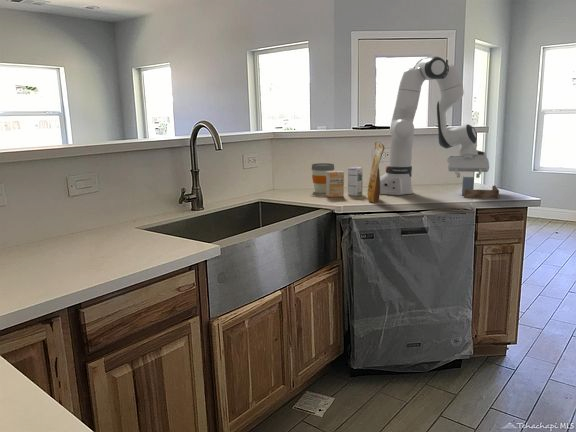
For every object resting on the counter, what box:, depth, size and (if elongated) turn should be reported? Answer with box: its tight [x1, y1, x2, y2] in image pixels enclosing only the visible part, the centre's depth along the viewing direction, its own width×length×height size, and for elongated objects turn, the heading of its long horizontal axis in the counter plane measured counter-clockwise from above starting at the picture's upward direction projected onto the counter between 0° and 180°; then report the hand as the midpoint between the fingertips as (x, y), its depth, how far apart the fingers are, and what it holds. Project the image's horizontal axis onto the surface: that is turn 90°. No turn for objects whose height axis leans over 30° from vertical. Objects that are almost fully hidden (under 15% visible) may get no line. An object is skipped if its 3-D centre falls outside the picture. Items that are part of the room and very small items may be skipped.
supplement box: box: [325, 170, 345, 198], centre depth 234 cm, size 8×5×13 cm, turn 105°
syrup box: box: [347, 166, 363, 197], centre depth 238 cm, size 6×6×14 cm
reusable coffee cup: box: [311, 162, 335, 194], centre depth 250 cm, size 12×13×15 cm
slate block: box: [461, 176, 475, 195], centre depth 233 cm, size 5×5×9 cm
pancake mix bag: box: [367, 141, 385, 204], centre depth 221 cm, size 7×19×28 cm, turn 173°
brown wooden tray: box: [463, 185, 500, 200], centre depth 231 cm, size 16×17×4 cm
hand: (468, 176), depth 236 cm, fingers open, 8 cm apart
